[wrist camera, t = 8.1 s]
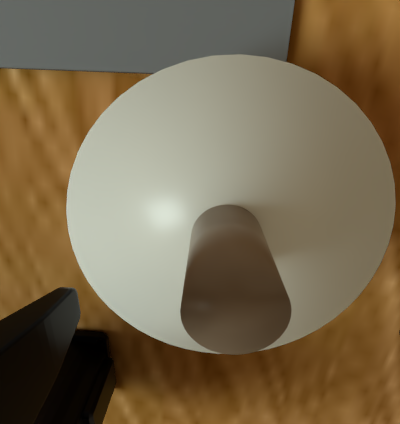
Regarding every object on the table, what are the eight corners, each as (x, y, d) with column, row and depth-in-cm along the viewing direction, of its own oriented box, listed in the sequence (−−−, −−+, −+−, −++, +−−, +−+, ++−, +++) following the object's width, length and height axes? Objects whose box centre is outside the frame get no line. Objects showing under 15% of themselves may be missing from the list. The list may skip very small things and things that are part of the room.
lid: (94, 334, 15) (38, 448, 10) (49, 52, 10) (-111, 4, 5) (342, 347, 15) (409, 470, 10) (431, 63, 10) (665, 22, 5)
